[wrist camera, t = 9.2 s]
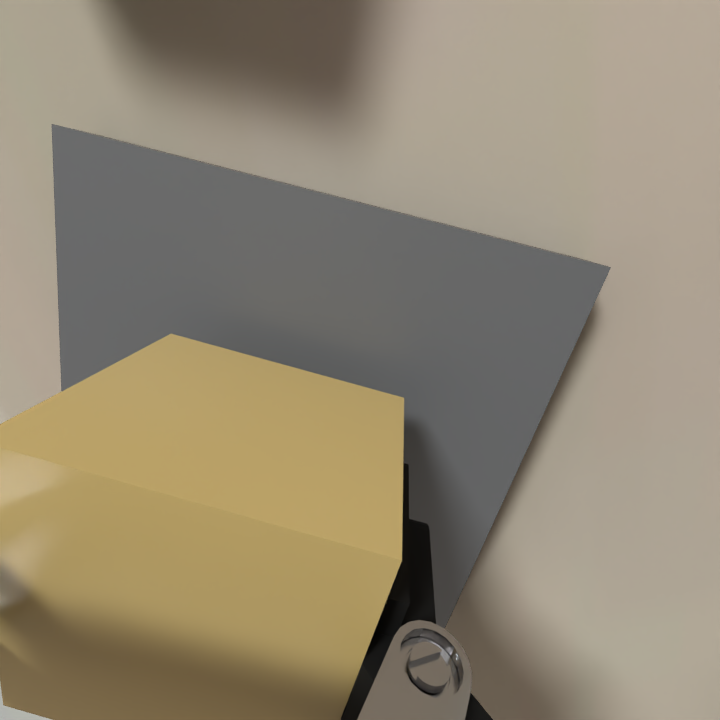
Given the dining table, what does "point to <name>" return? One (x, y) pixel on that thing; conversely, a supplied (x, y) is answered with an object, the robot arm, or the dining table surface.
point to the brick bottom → (196, 539)
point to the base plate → (326, 310)
